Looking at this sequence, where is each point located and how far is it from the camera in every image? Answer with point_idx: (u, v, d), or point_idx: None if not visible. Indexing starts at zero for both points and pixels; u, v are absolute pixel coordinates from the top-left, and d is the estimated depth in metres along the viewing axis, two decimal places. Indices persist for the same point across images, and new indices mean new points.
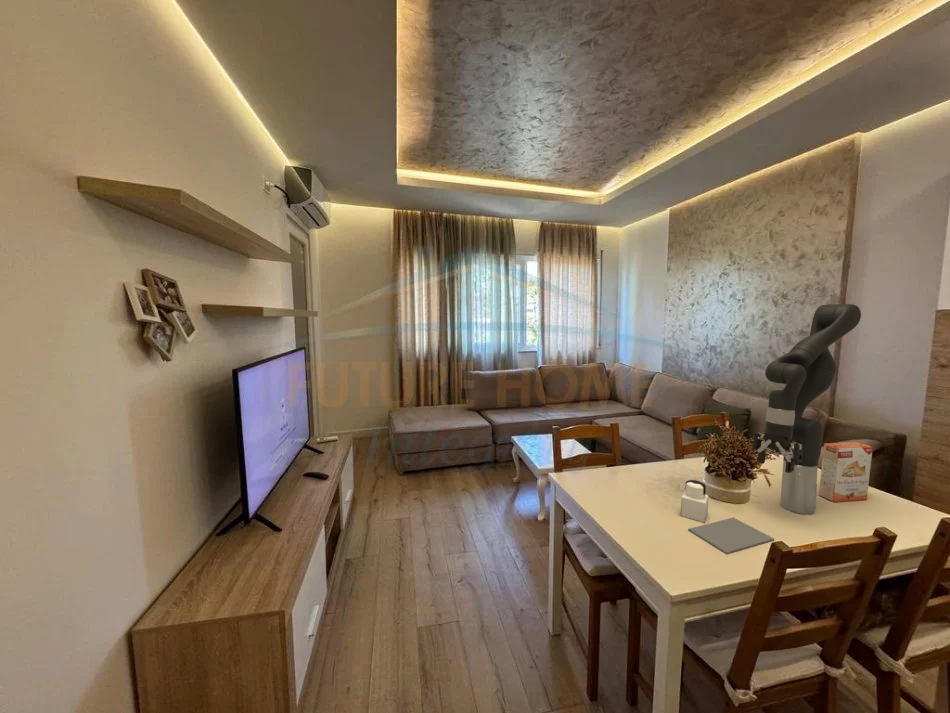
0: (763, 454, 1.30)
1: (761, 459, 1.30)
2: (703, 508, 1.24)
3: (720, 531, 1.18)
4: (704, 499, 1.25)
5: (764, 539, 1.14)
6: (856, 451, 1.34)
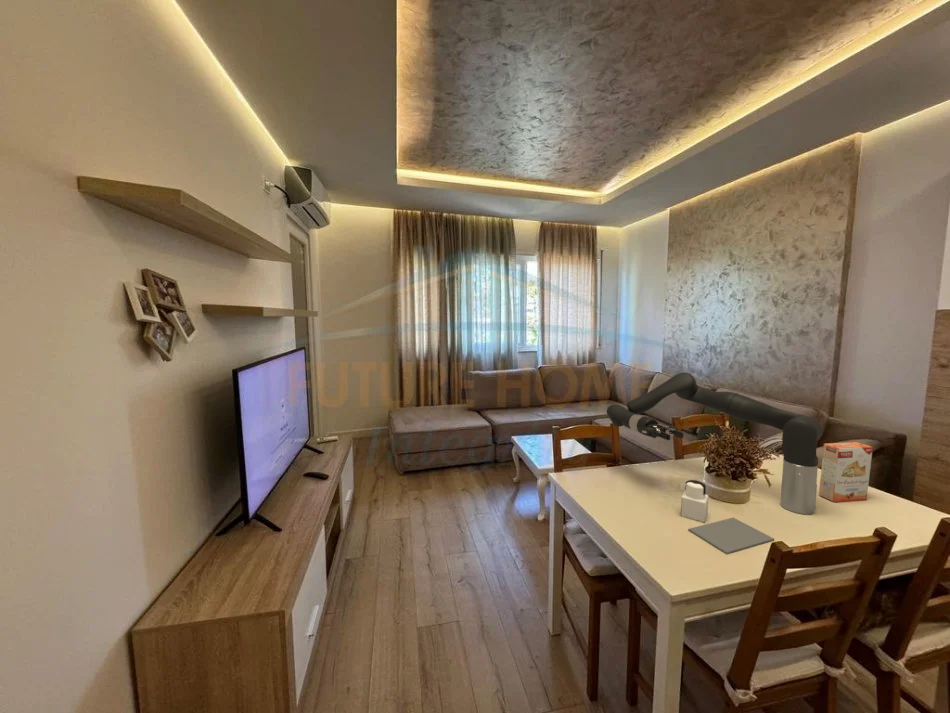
0: (674, 433, 1.44)
1: (678, 436, 1.42)
2: (703, 508, 1.24)
3: (720, 531, 1.18)
4: (704, 499, 1.25)
5: (764, 539, 1.14)
6: (856, 451, 1.34)
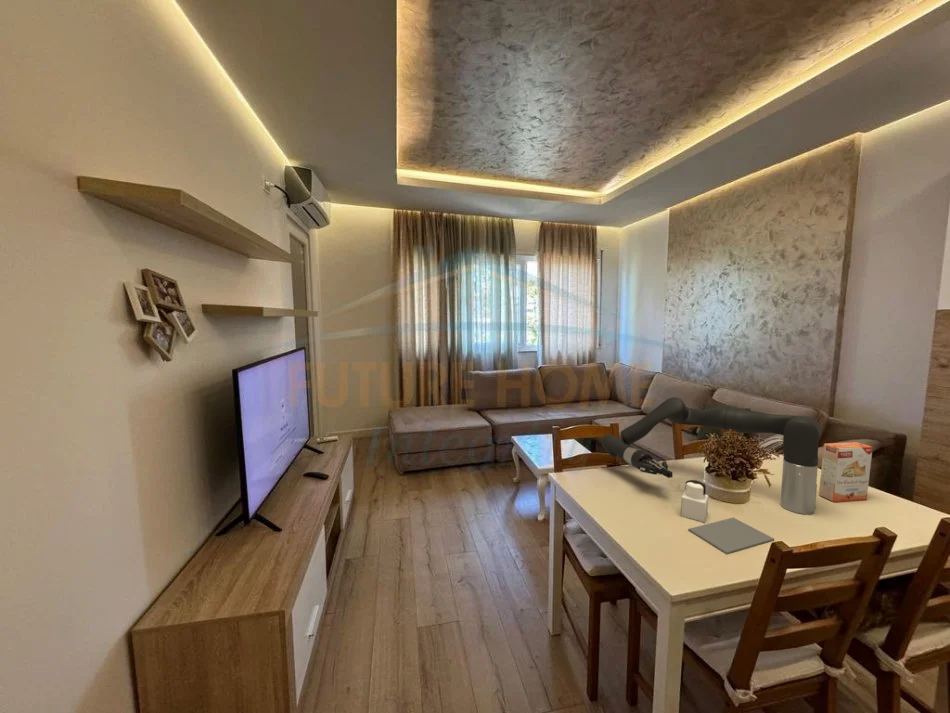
0: None
1: None
2: (703, 508, 1.24)
3: (720, 531, 1.18)
4: (704, 499, 1.25)
5: (764, 539, 1.14)
6: (856, 451, 1.34)
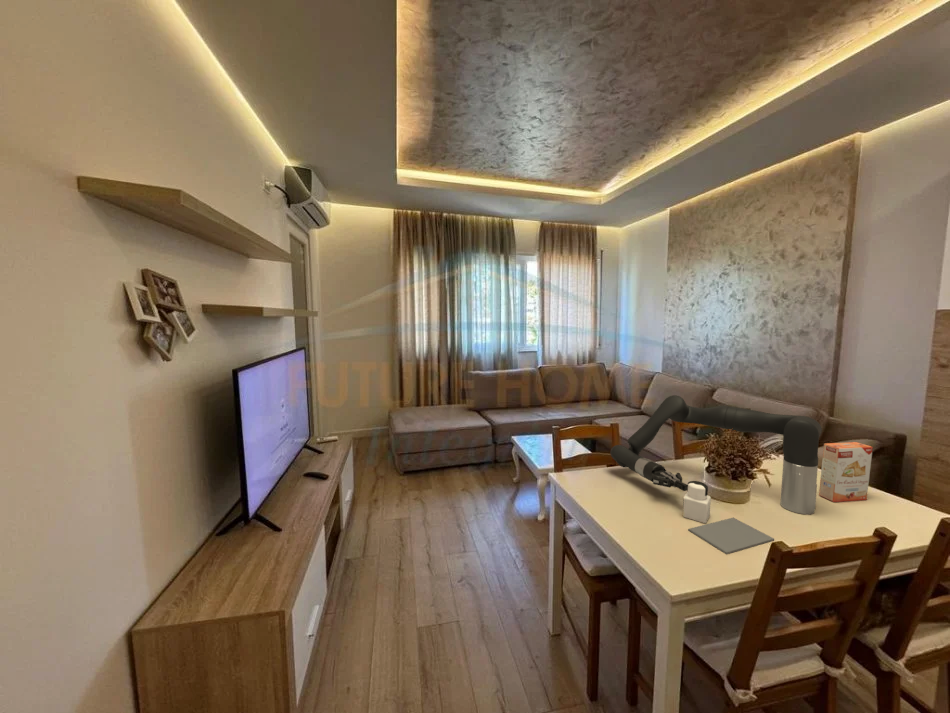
0: None
1: None
2: (705, 509, 1.23)
3: (720, 531, 1.18)
4: (706, 501, 1.25)
5: (764, 539, 1.14)
6: (856, 451, 1.34)
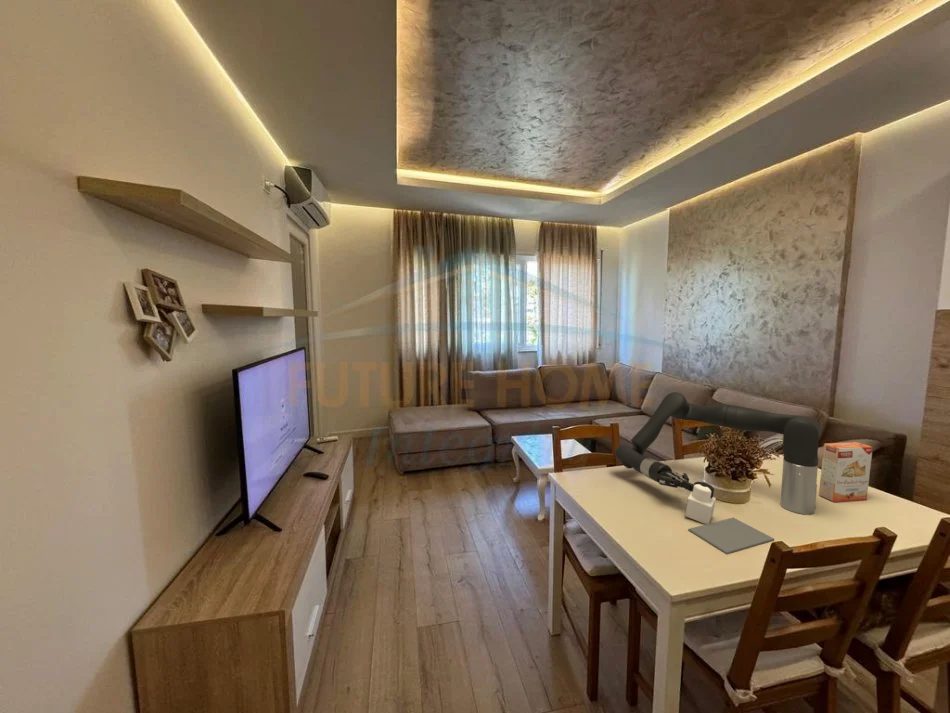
0: None
1: None
2: (708, 511, 1.22)
3: (720, 531, 1.18)
4: (711, 503, 1.23)
5: (764, 539, 1.14)
6: (856, 451, 1.34)
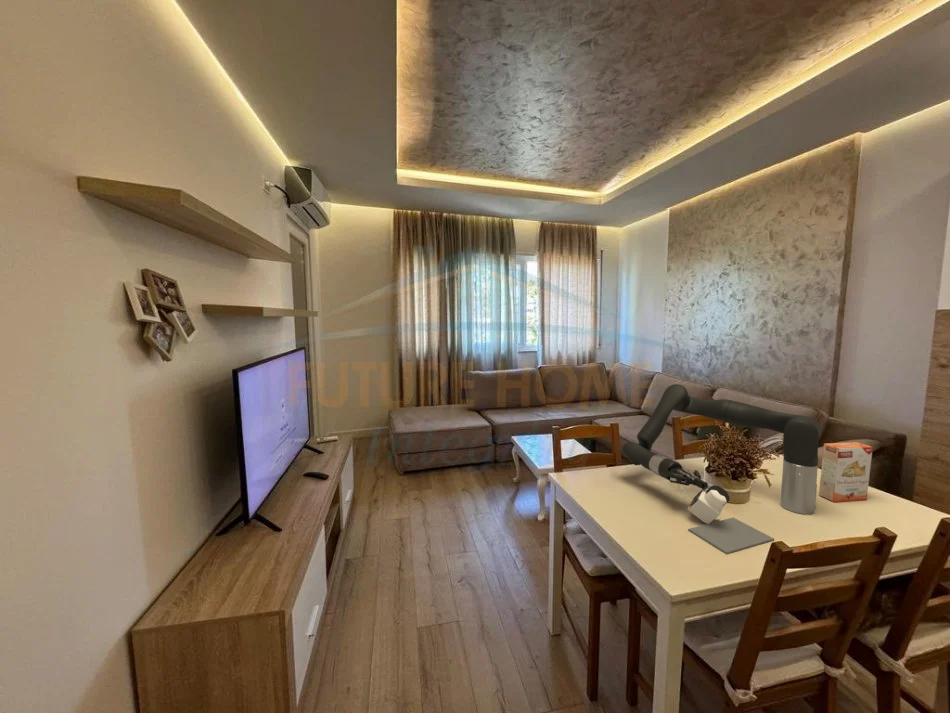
0: None
1: None
2: (714, 516, 1.20)
3: (720, 531, 1.18)
4: (720, 509, 1.20)
5: (764, 539, 1.14)
6: (856, 451, 1.34)
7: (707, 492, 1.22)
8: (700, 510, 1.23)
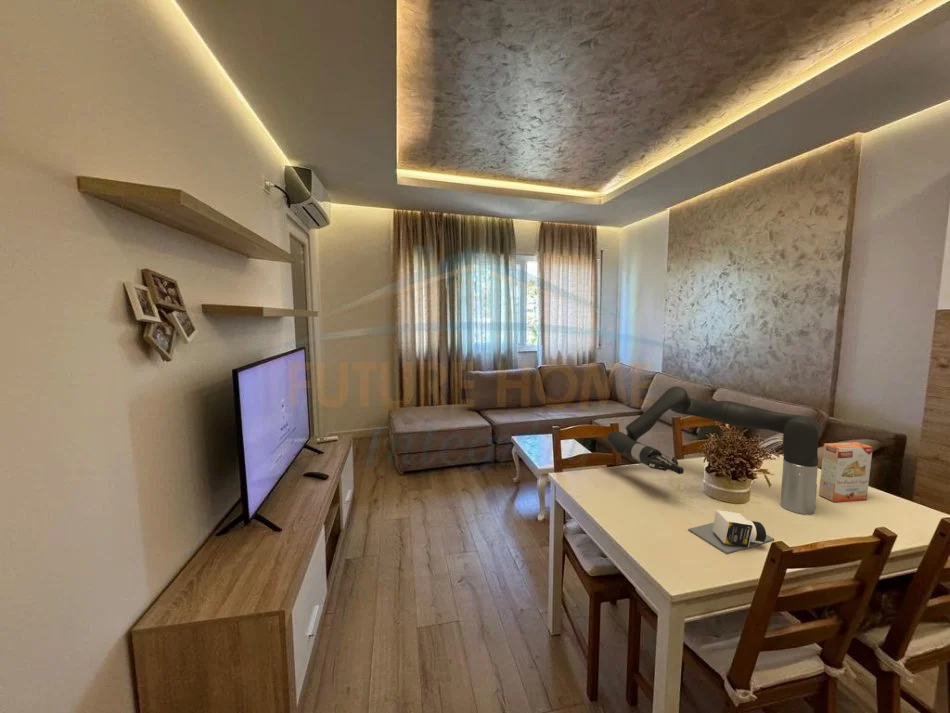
0: None
1: None
2: None
3: None
4: None
5: None
6: (856, 451, 1.34)
7: (757, 540, 1.10)
8: None
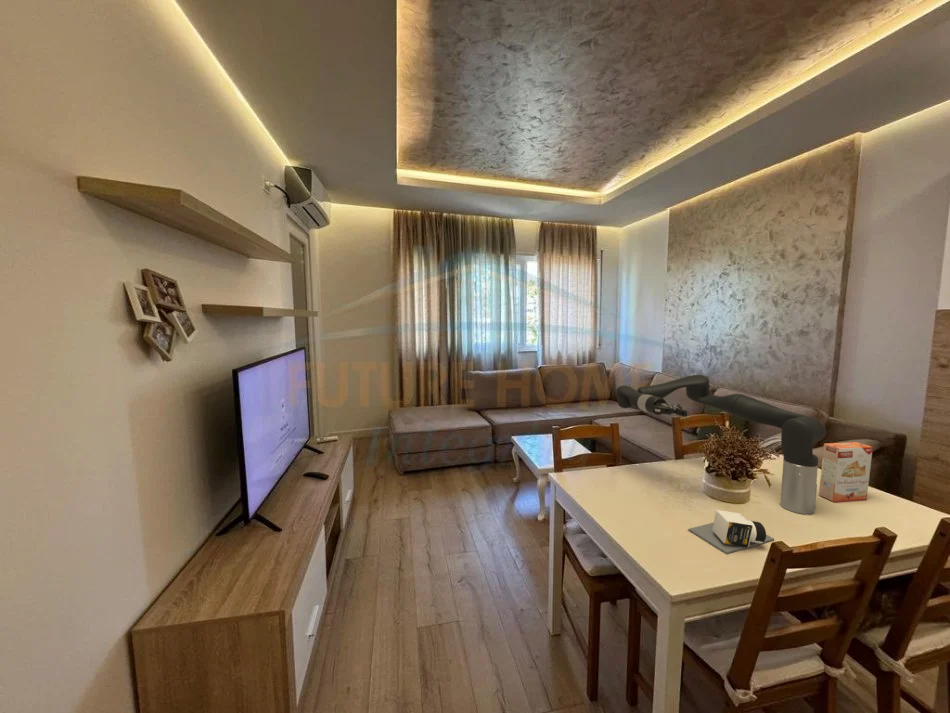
0: None
1: None
2: None
3: None
4: None
5: None
6: (856, 451, 1.34)
7: (757, 540, 1.10)
8: None
